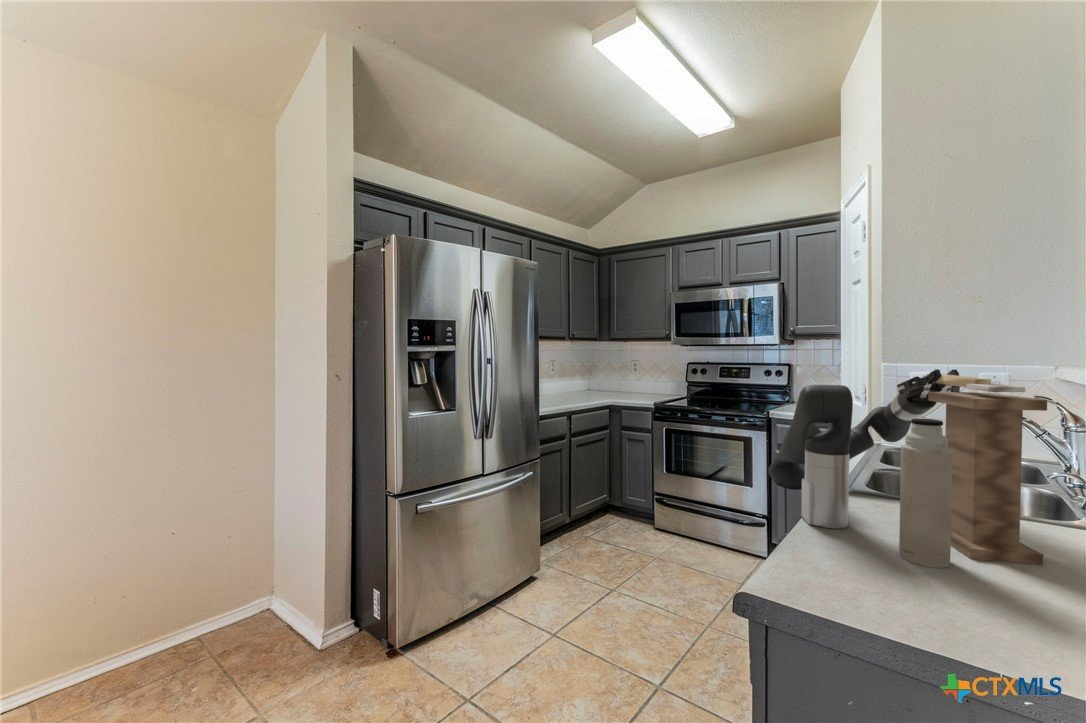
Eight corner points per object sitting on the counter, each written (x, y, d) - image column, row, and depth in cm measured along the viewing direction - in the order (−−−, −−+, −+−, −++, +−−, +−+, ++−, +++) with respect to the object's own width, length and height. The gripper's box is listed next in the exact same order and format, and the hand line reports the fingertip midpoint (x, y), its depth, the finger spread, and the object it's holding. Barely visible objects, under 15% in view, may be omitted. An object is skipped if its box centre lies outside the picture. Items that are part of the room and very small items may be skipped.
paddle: (988, 391, 95) (989, 381, 95) (919, 381, 119) (919, 373, 119) (1024, 392, 94) (1025, 382, 94) (947, 381, 118) (947, 373, 118)
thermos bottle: (890, 549, 100) (892, 416, 99) (931, 551, 99) (933, 416, 98) (916, 567, 92) (918, 422, 91) (960, 568, 91) (964, 422, 90)
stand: (970, 558, 96) (973, 399, 95) (925, 529, 111) (928, 391, 110) (1042, 564, 93) (1047, 400, 92) (986, 533, 108) (990, 392, 108)
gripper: (947, 416, 125) (987, 387, 110) (886, 414, 128) (917, 386, 113) (939, 389, 128) (977, 358, 113) (880, 389, 131) (909, 358, 116)
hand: (947, 373), depth 113 cm, fingers closed on paddle, 3 cm apart
